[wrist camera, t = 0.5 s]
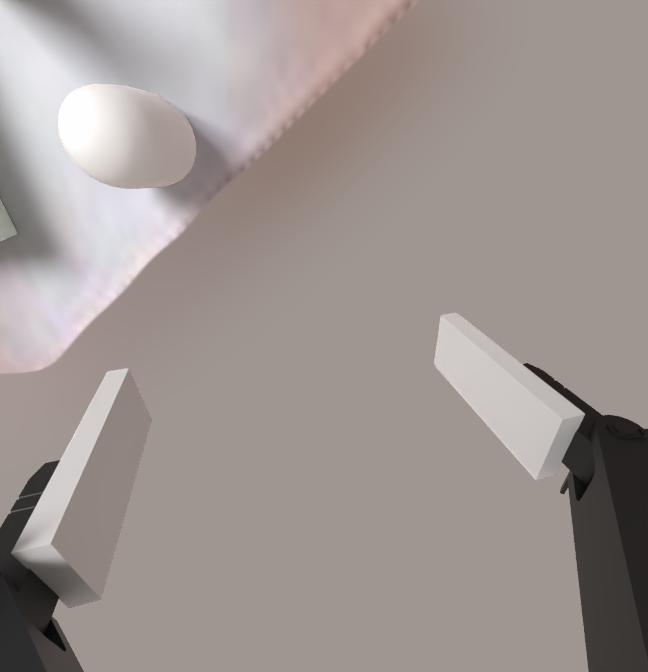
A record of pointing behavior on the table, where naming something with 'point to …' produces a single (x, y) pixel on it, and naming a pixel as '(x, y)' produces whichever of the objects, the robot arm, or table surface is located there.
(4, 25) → the table surface
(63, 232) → the table surface
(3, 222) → the green square socket tray
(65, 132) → the figurine
